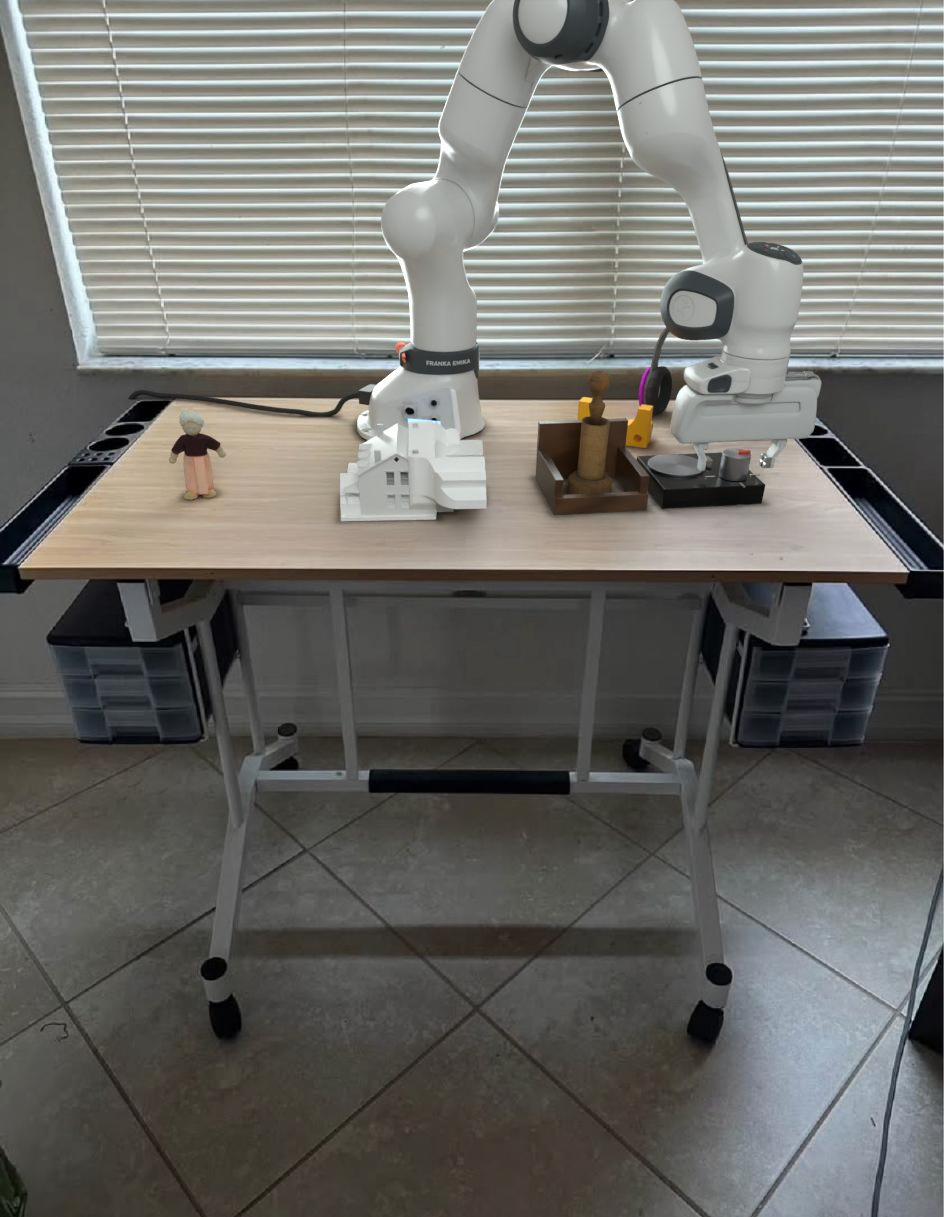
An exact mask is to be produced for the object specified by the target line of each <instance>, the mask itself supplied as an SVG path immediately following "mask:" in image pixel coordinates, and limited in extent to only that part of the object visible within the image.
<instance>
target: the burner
mask: <svg viewBox="0 0 944 1217" xmlns="http://www.w3.org/2000/svg"><path fill="white" fill-rule="evenodd" d="M678 454H679V453H678ZM678 454H677V453H663V454H656V455H657V456H654V457H652V458H650V459H649V460H648V467H649V468H650V469H651V470H652V471H654V472H656V473H658V474H661V475H665V476H670V477H678V478H687V477H694V476H698V475H701V474H702V473H703V472H704V471H700V470H699V469H698V467H697V464H698V459H696V458H693V457H689V456H685V455H678Z"/></svg>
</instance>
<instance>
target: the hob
mask: <svg viewBox="0 0 944 1217" xmlns="http://www.w3.org/2000/svg"><path fill="white" fill-rule="evenodd" d="M704 453H705V455H706V456H709V457H710V458H711V459H712V460H713V462H712V465H711V467H712V468H711V471H704V472H703V473H702V474H701V475H698V476H694V477H687V478H678V477H670V476H665V475H661V474H658V473H656V472H654V471H652V470H651V469H650V468H649V467H648V460H649V459H650V458H652V457H654V456H657V455H658V454H654V455H652V454H651V455H637V456H636V460H637V461H638V463H639V464H640V465H641V466H642V468H643V469H644V470H645V471H646V473H647V474H648V475H649V483H648V490H647V492H648V494H650V495H651V497H652V498H653V499H654V500H655V501H656V503H657V505H658V506H659V507H660V508H661V510H666V509H685V508H705V507H725V506H726V507H727V506H744V505H762V504H763V499H764V494H765V490H766V483H764V482H763V481H762V480H761V479H760V478H759V477H758V476H761V474H760V473H753V471H751V470H750V469H749V470H748V475H747V479H746V480H743V481H729V480H725V479H723V478H721V477H720V476H719V470H720V464H721V458H722V453H723V451H721V452H704ZM678 455H685V456H689V457H693V458H696V459H698V455H697V453H696V452H695V453H678Z"/></svg>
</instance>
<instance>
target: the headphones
mask: <svg viewBox="0 0 944 1217" xmlns="http://www.w3.org/2000/svg"><path fill="white" fill-rule="evenodd" d="M669 333H671V332H670V331H669V330H668V329H667V327H666V326H665V328H664V329H663V330H662V331H661V333H660V335H659V337H658V339H657V342H656V344H655V346H654V348H653V352H652V359H651V363H650V366H648V367H646V369H645V370H644V372H643V374H642V376H641V380H640V384H639V387H638V388H639V389H638V405H639V407H640V406H641V405H642V404H643V405H651V406H653V413H652V416H654V417H655V416H660V415H662V414H664V412H665V411H667V408H668V405H669V403H670V402H671V401H670V400H671V397H672V391H673V379H672V374H671V371H670V370H669V368H668V367H667V366H664V365H661V366H659V360H660V355H661V352H662V348H663V345H664V343H665V341H666V339H667V337H668V335H669Z"/></svg>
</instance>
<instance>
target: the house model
mask: <svg viewBox="0 0 944 1217" xmlns="http://www.w3.org/2000/svg"><path fill="white" fill-rule="evenodd" d="M358 450H359V452H357V459H359V460H356V462H348V466H347V471H346V472H343V473H342V472H340V473H339V505H340V506H339V508H340V522H372V521H374V522H376V521H377V522H378V521H380V522H381V521H428V520H429V521H432V520H433V521H434V520H437V515H438V514H437V513H454V510H479V509H480V510H481V509H482V510H483V509H487V504H488V503H487V502H488V500H487V471H486V457H485V456H484V446H483V439H460V433H459V431H458V430H456V429H453V428H450V429H447V430H445V429H444V428H443V427H442V426H441V425H440V424H439V423H438V422H437V421H435V422H434V423H433V421H409V429H408V428H406V427H404V426H402V425H400V424H398V423H397V424H396V425H394V426H392V427H390V428H389V429H387V430H385V431H383V424H377V436H375V437H373V438H371V439H370V440H366V441H365V442H363V443H359V445H358Z"/></svg>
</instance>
